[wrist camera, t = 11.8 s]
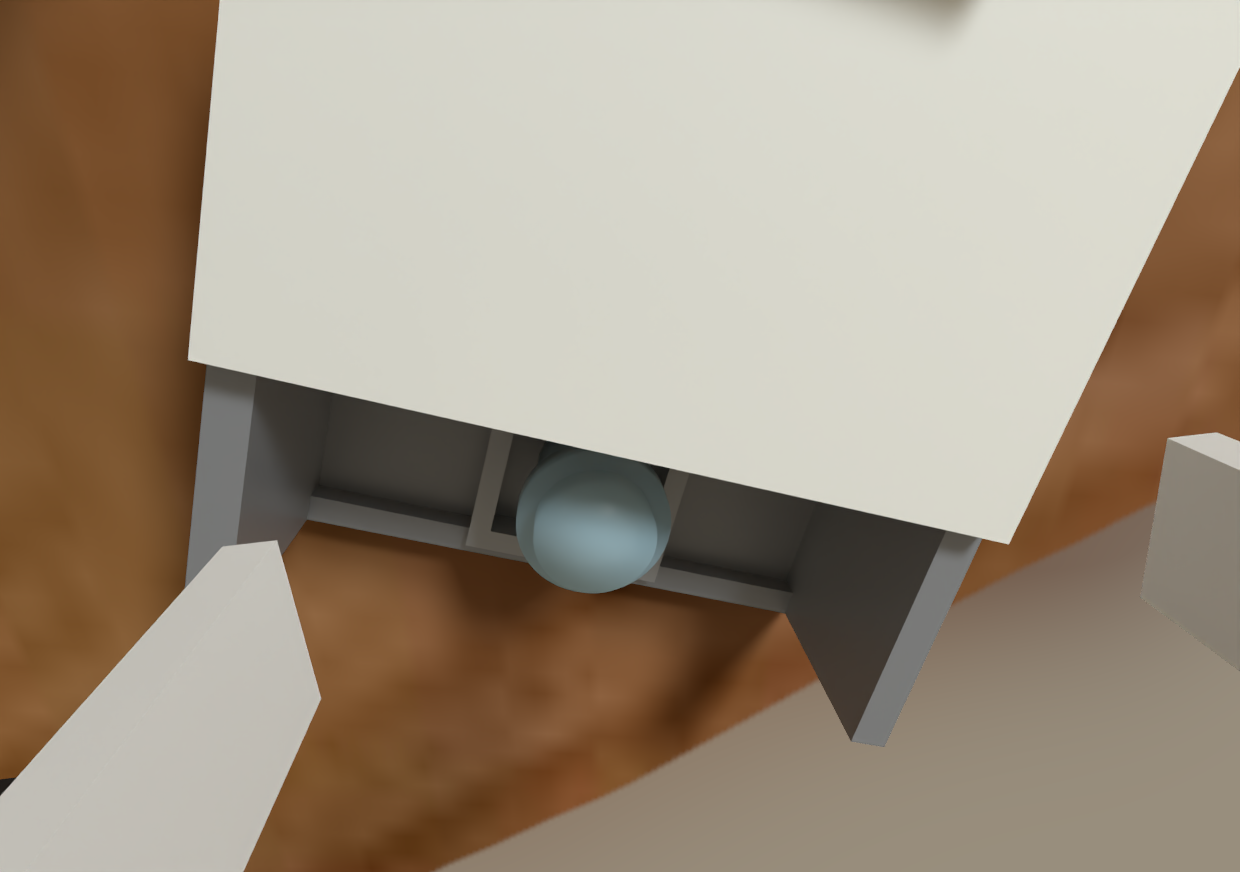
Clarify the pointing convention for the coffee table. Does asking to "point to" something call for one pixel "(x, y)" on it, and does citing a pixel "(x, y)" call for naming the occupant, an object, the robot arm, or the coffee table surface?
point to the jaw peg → (591, 519)
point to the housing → (486, 523)
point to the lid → (707, 223)
